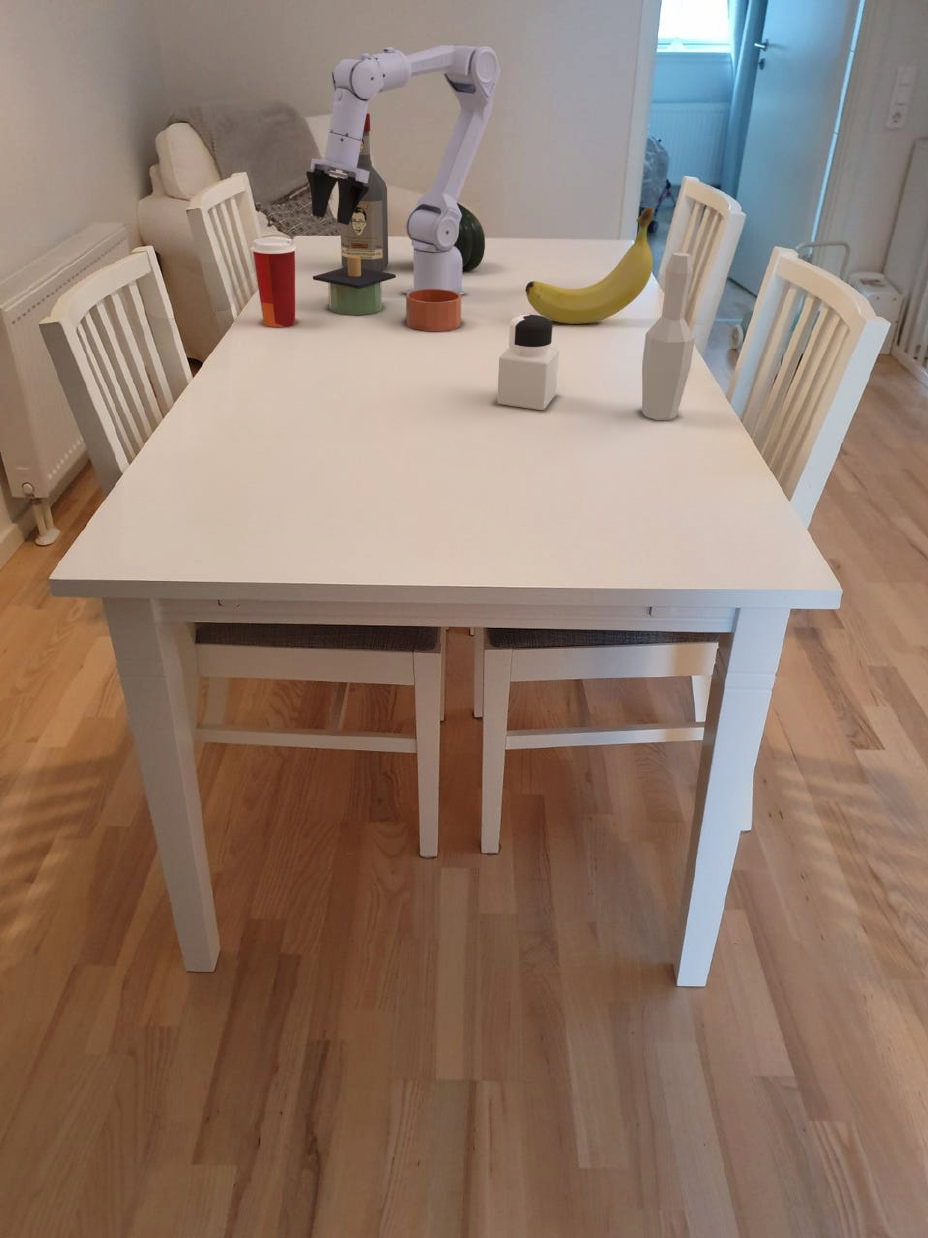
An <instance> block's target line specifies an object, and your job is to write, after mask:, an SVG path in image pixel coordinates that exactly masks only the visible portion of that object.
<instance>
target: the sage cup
mask: <svg viewBox="0 0 928 1238" xmlns="http://www.w3.org/2000/svg"><path fill="white" fill-rule="evenodd" d="M382 283H383V282H380V283H377V284H374V285H370V286H367V287H364V288H361V289H357V288H352V287H347V286H342V285H337V284H332V283H327V291H328V305H329V310H330V311H331V312H333V313H336V314H339V315H348V316H365V315H371V314H375V313H378V312H381V310H382V307H383V292H382V287H383V285H382Z"/></svg>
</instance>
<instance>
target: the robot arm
mask: <svg viewBox="0 0 928 1238" xmlns="http://www.w3.org/2000/svg"><path fill="white" fill-rule="evenodd" d="M436 72H437V73H438V74H442V75H443V77H444V79H445V81H446V82H447V84H448V86H449V87H450V89H451V91H452V92H453V94H454V96H455V98H456V99H457V100H458V103H459V105H460V110H459V113H458V115H457V118H456V121H455V124H454V126H453V129H452V131H451V134H450V137H449V140H448V142H447V145H446V148H445V150H444V153H443V155H442V158H441V161H440V163H439V166H438V168H437V171H436V173H435V176H434V179H433V182H432V184H431V187H430V189H429V191H427V192H426V193H425V194H423V195H422V196H421V197H419V198H418V200H417V202H416V204H415V205H414V208H413V209H412V210H411V211H410V212H409V214H408V215H407V217H406V220H405V233H406V235H407V237H408V239H410V241H411V246H412V247H413V288H411V289H406V290H404V292H403V293H404V294H406V295H407V293H409V292H411V291H415V290H420V289H443V290H450V291H454V292H457V293H459V294H460V295H461V296H463V295H465V291H464V290H463V270H462V257H461V254H460V251H459V250H458V249H457V248H456V247H455V246H453V245H454V244H455V242H456V241H457V238H458V234H459V223H460V220H461V217H462V214H461V212H460V210H459V208H458V205H457V203H458V200H459V199H460V198H459V197H460V195H461V192H462V190H463V187H464V185H465V182H466V179H467V176H468V174H469V172H470V168H471V166H472V165H473V161H474V158H475V155H476V154H477V150H478V148H479V146H480V143H481V140H482V137H483V135H484V133H485V130H486V128H487V125H488V122H489V120H490V117H491V114H492V111H493V106H494V98H495V97H494V96H495V89H496V87H497V84H498V82H499V79H500V77H501V74H502V71H501V67H500V64H499V59H498V57H497V54H496V52H495V51H494V50H493V49H492V48H491V47H490V46H485V45H484V46H473V45H472V46H470V45H469V46H468V45H461V44H456V43H455V44H453V43H452V44H449V45H448V44H441V45H437V46H434V47H431V48H426V49H424V50H421V51H417V52H415V53H410V54H407V55H405V54H404V53H403V52H402V50H399V49H395V48H394V46H393V47H391V46H387V47H383V48H382V52H380V53H375V54H371V55H370V53H361V55H360V58H359V59H352V58H345V59H342V60H341V61H339V63H338V64H337V65H336V67H335V69H334V71H332V72H331V74H330V82H331V86H332V88H333V98H332V100H333V107H332V112H331V117H330V123H329V127H328V135H327V141H326V147H325V152H324V156H323V157H324V158H314V157H311V162H310V169H309V170H311V171H308V170H306V174H305V175H306V178H307V181H308V185H309V190H310V196H311V198H310V199H311V213H312V214H311V215H312V216H314V217H318V218H322V219H324V217H325V215H326V213H327V209H328V205H329V201H330V198H331V195H332V192H333V191H334V189H335V186H336V184H337V186H338V187H337V188H338V203H337V212H336V223H338V224H340V223H342V224H346V225H349V223H350V220H351V218H352V216H353V214H354V211H355V209H356V207H357V206H358V204H359V202H360V201H361V199H362V198H363V196H364V195H365V194H366V193H367V192H368V190H369V187H367V186H363V185H364V184H363V183H368V177H369V171H365V170H362V169H358V168H357V163H358V158H359V152H360V147H361V141H362V136H363V130H364V125H365V120H366V114H367V113H368V109H369V105H370V101H371V100H373V99H374V98H375V97H376V96H377V95H378V94H381V93H384V92H385V93H386V92H389V91H392V90H396V89H401V88H404V87H406V86H407V84H408V83H409V80H410V79H411V77H416V76H421V75H426V74H432V73H436ZM337 171H341V173H340V172H337ZM347 174H348V175H347ZM344 178H347V179H344Z"/></svg>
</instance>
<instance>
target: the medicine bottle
mask: <svg viewBox="0 0 928 1238" xmlns="http://www.w3.org/2000/svg"><path fill="white" fill-rule="evenodd" d="M553 326H554V323H553V322H552V320H551V319H548V318H546V317H544V316H542V315H540V314H539V315H538V314H521V315H517V316H515V317H513V318H512V319H511V320H510V321H509V336H508V348H507V349H506V350H505V351H504V352H503V353H502V354H501V355H500V356H499V357H498V374H497V375H498V376H497V399H496V404H498V405H502V406H510V407H516V408H522V409H523V408H524V409H529V410H538V411H544V410H545V409H546V407H547V406H548V405H549V404H550V403H551V401H552V400H553V399H554V397H555V396H556V394H557V381H558V369H559V356H560V350H559V348H556V347H552V340H553V328H554V327H553Z"/></svg>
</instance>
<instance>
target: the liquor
mask: <svg viewBox="0 0 928 1238" xmlns="http://www.w3.org/2000/svg"><path fill="white" fill-rule="evenodd" d="M370 132H371V114H370V113H368V112H367V114H366V120H365V125H364V130H363V136H362V141H361V147H360V152H359V158H358V163H357V168H358V169H362V170H365V171H369V177H368V183H363V184H364V185H363V186H367V187H369V190H368V192H367V193H366V194H365V195H364V196H363V198H362V199H361V201H360V202H359V204H358V206H357V207H356V209H355V211H354V214H353V216H352V218H351V220H350V223H349V225H346V224H342V223H339V228H340V229H339V231H340V254H341V255H340V256H341V267H342V268H345V267H348V260H347V256H349V255H359V256H360V258H361V268H364V269H369V270H374V271H380V272H384V271H385V269H387V266H388V264H389V228H388V227H389V224H388V223H389V221H388V219H389V218H388V217H389V216H388V186H387V184H386V181H384V179H383V178H382V176H381V175H380V174H379V173H378V171H377V170H376V169H375V167H374V166H373V161H372V159H371V140H370V137H371V136H370ZM346 175H348V174H346ZM344 179H347V178H344Z"/></svg>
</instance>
